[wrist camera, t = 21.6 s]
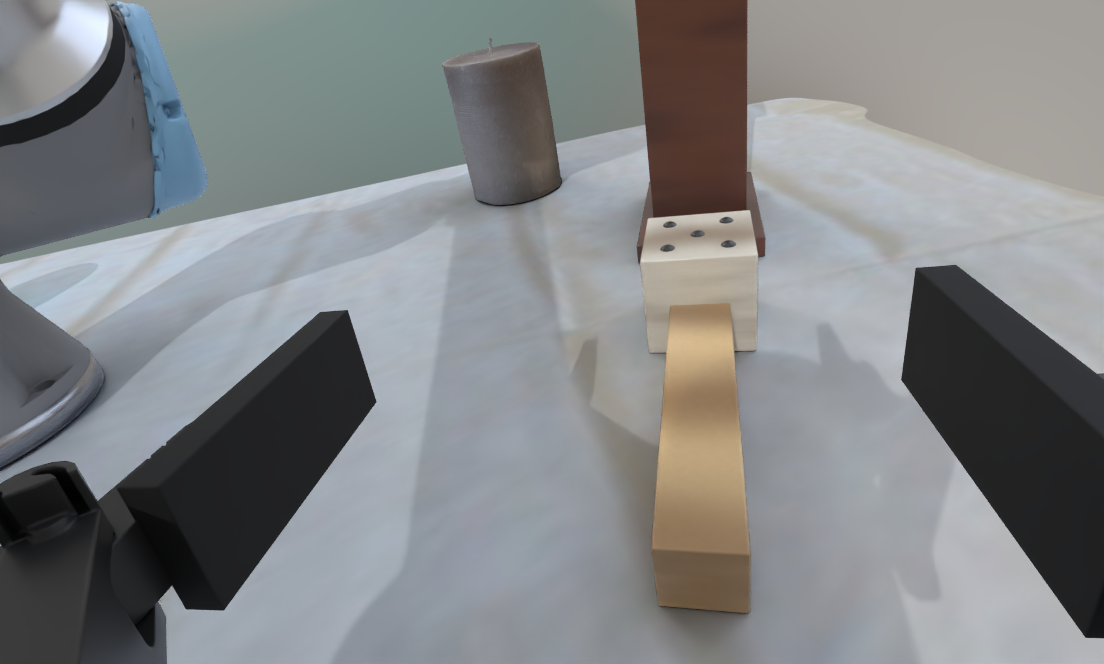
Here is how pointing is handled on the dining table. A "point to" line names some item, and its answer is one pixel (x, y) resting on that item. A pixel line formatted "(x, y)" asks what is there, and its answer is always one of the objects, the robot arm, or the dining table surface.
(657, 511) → the die stick
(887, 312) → the dining table surface
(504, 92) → the pillar candle
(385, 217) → the dining table surface
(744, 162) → the plant stand
